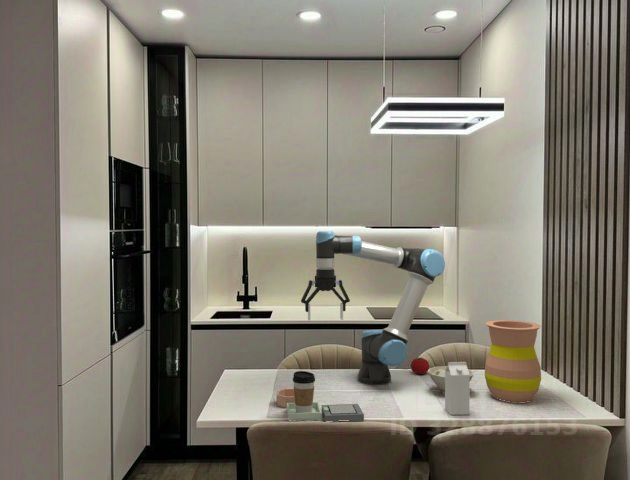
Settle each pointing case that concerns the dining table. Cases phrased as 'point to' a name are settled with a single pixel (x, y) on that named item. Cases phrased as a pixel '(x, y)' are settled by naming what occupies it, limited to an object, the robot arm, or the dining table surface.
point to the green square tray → (313, 415)
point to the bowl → (441, 376)
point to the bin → (285, 397)
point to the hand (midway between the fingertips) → (325, 319)
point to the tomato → (419, 366)
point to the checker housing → (336, 417)
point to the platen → (342, 409)
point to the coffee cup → (303, 391)
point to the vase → (513, 361)
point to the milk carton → (457, 388)
